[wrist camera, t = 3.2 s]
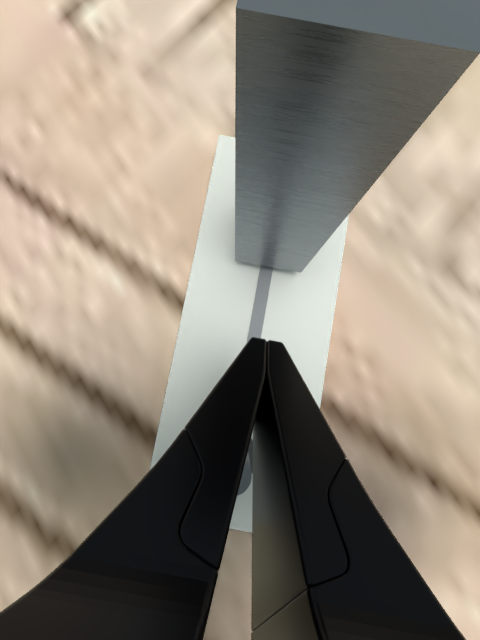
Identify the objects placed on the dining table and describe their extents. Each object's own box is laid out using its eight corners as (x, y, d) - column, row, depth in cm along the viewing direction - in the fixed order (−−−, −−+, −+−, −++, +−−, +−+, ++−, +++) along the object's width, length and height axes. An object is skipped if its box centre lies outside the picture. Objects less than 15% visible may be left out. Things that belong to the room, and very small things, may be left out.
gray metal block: (298, 276, 14) (479, 52, 4) (234, 264, 14) (235, 7, 4) (308, 215, 15) (500, -148, 4) (246, 204, 15) (277, -187, 4)
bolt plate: (294, 526, 14) (313, 581, 11) (148, 498, 14) (121, 545, 11) (348, 172, 16) (379, 123, 13) (220, 148, 16) (216, 93, 13)
